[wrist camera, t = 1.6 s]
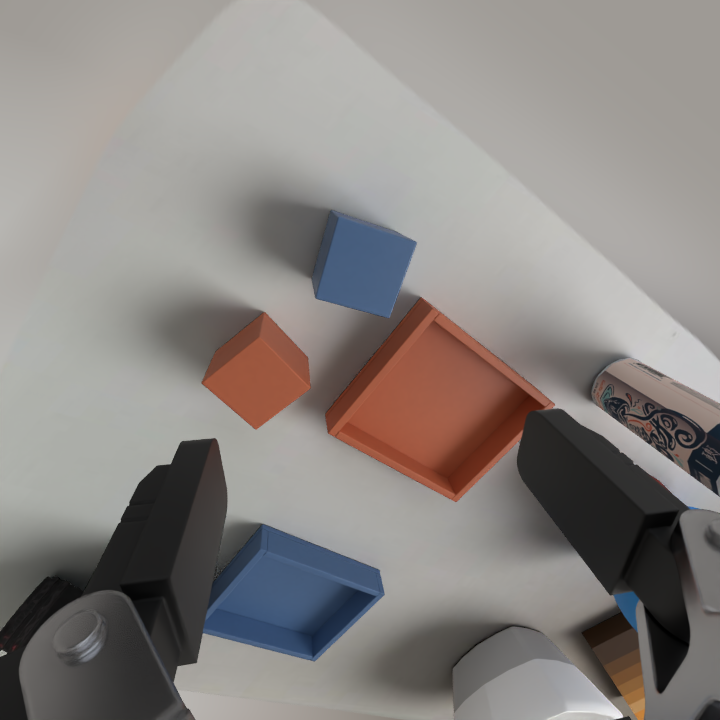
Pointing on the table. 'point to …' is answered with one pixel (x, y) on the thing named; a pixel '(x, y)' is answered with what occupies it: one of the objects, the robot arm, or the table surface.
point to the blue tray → (289, 595)
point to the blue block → (361, 265)
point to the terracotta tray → (435, 404)
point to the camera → (36, 612)
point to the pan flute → (620, 658)
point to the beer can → (664, 416)
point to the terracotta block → (258, 372)
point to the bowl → (524, 682)
